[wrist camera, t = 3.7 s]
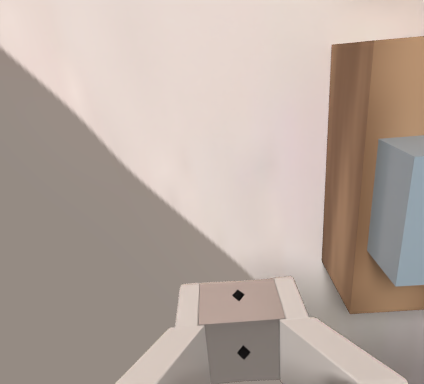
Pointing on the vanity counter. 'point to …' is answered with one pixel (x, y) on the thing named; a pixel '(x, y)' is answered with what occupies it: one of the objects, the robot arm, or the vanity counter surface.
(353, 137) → the cardboard box
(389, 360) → the vanity counter surface
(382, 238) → the tile
